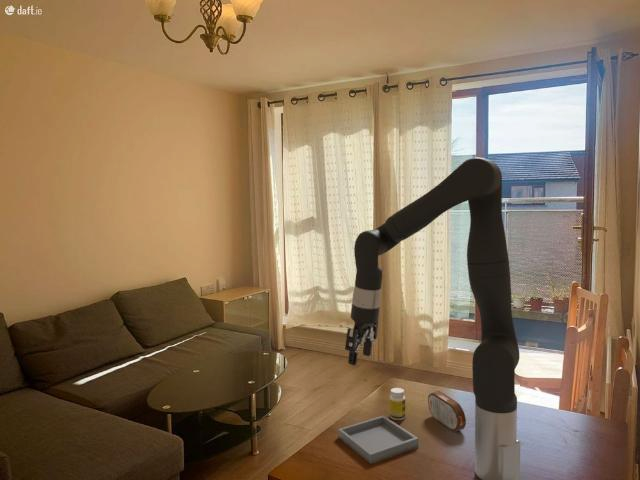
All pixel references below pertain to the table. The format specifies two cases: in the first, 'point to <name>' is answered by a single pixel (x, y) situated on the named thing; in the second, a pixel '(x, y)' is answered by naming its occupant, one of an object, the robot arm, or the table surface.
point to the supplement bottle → (397, 404)
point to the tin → (446, 411)
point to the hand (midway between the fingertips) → (359, 359)
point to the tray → (378, 439)
